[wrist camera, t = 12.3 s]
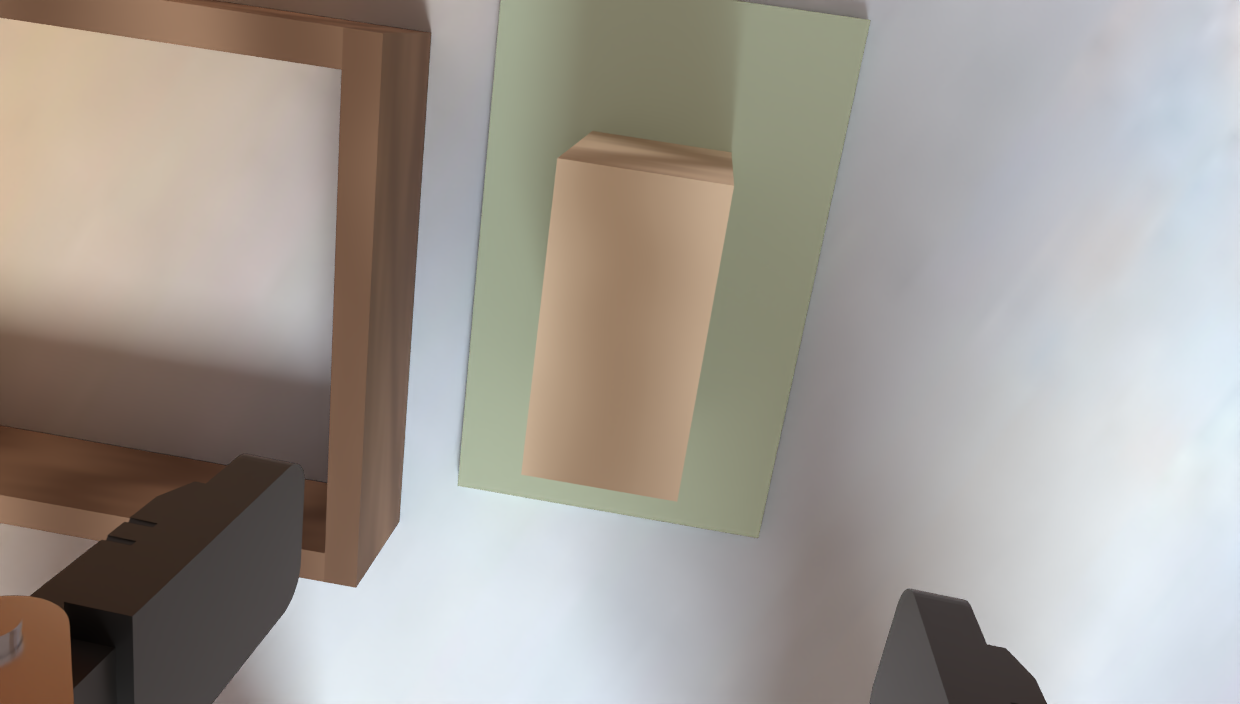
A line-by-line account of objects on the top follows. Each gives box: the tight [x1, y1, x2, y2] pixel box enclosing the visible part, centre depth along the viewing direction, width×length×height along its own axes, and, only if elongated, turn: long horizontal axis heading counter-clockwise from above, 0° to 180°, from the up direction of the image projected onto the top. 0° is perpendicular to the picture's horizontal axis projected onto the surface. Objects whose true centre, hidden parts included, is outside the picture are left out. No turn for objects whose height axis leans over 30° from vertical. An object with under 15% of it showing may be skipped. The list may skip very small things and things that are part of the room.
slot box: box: [0, 0, 431, 587], centre depth 28 cm, size 18×16×4 cm
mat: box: [458, 0, 871, 538], centre depth 28 cm, size 10×16×1 cm, turn 172°
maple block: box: [521, 131, 734, 502], centre depth 25 cm, size 4×8×6 cm, turn 172°
